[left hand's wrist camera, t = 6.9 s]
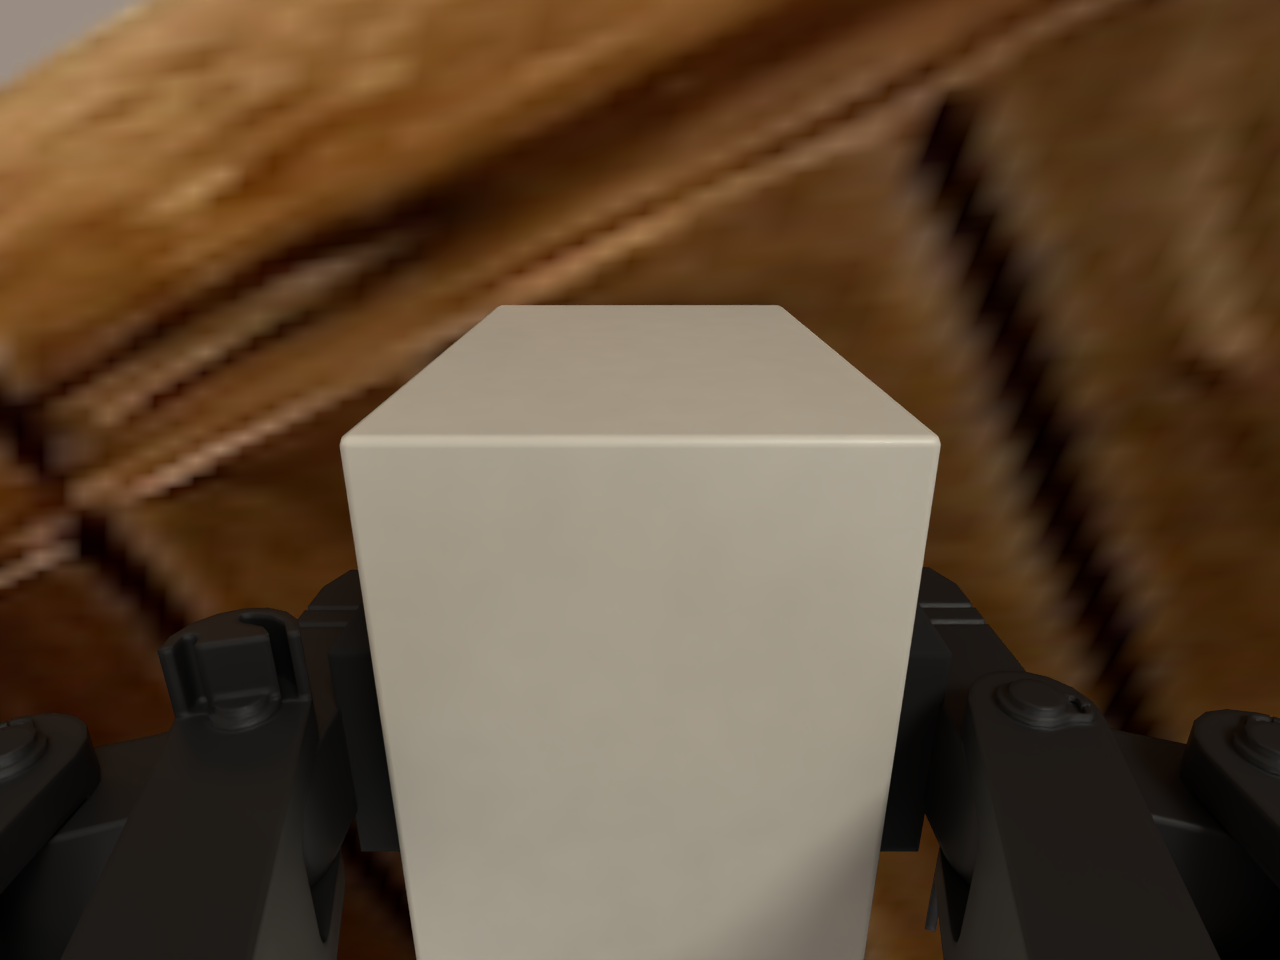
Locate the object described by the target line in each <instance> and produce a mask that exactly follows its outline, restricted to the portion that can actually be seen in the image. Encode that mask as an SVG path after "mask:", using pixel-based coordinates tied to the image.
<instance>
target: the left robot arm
mask: <svg viewBox="0 0 1280 960" xmlns="http://www.w3.org/2000/svg"><path fill="white" fill-rule="evenodd" d="M157 651H158V655H159V658H160V662H161V666H162V669H163V673H164V677H165V681H166V684H167V688H168V692H169V696H170V699H171V703H172V707H173V711H174V714H175V720H174V722H173V725H172V727H171V729H170V731H169V732H165V733H161V734H157V735H154V736H149V737H144V738H139V739H134V740H129V741H124V742H119V743H114V744H109V745H104V746H99V747H93V744H92V741H91V738H90V734H89V731H88V728H87V725H86V724H85V723H84V722H82V721H81V720H80V719H79V718H77V717H76V716H74V715H67V714H59V713H47V714H39V715H31V716H23V717H18V718H14V719H11V721H7V720H6V721H3V722H0V960H336V959H337V951H338V943H339V934H340V926H341V917H342V909H343V901H344V892H345V884H346V877H345V870H344V864H343V858H342V853H341V848H340V847H341V845H342V843H343V841H344V839H345V836H346V834H347V832H348V830H349V828H350V825H351V823H352V821H353V819H354V817H356V823H357V829H358V835H359V840H360V846H361V851H400V845H399V838H398V832H397V825H396V818H395V812H394V805H393V798H392V792H391V785H390V778H389V772H388V765H387V758H386V752H385V745H384V738H383V731H382V725H381V718H380V711H379V705H378V698H377V691H376V685H375V678H374V671H373V665H372V658H371V651H370V645H369V638H368V631H367V625H366V618H365V611H364V605H363V598H362V591H361V584H360V578H359V571H358V570H350V571H348V572H347V573H345V574H343V575H342V576H340V577H339V578H337V579H335V580H334V581H332V582H331V583H329V584H327V585H326V586H324V587H323V588H322V589H321V591H320V592H319V593H318V595H317V596H316V597H315V598H314V600H313V601H312V602H311V603H310V605H309V606H308V610H305V611H304V612H303V613H302V615H301V616H300V617H299V618H298V620H297V619H296V618H294V617H293V616H292V615H291V614H289V613H288V612H285V611H281V610H276V609H271V608H245V609H239V610H234V611H229V612H225V613H220V614H216V615H213V616H211V617H208V618H205V619H203V620H200V621H197V622H194V623H192V624H190V625H189V626H187V627H185V628H183V629H182V630H180V631H178V632H177V633H175V634H173V635H172V636H170V637H169V638H168V640H167V641H166V642H165V643H164V644H163V645H162V646H161V647H160V648H159V649H158V650H157ZM925 814H926V816H927V818H928V820H929V823H930V825H931V827H932V829H933V831H934V834H935V836H936V838H937V840H938V842H939V845H940V848H939V853H938V858H937V864H936V869H935V874H934V880H933V885H932V890H931V896H930V901H929V906H928V912H927V918H926V925H925V929H927V930H932V931H935V930H936V925H937V920H938V916H939V924H940V932H941V941H942V949H943V958H944V960H1280V719H1279V718H1276V717H1273V718H1272V717H1269V715H1265V714H1261V713H1256V712H1246V711H1238V710H1230V709H1225V710H1217V711H1210V712H1205V713H1204V714H1203V715H1201V716H1200V717H1199V718H1197V719H1196V720H1195V721H1194V723H1193V726H1192V729H1191V732H1190V736H1189V739H1188V742H1187V744H1183V743H1178V742H1173V741H1168V740H1163V739H1158V738H1153V737H1148V736H1143V735H1138V734H1133V733H1128V732H1124V731H1120V730H1116V729H1112V728H1110V727H1109V725H1108V723H1107V721H1106V719H1105V717H1104V716H1103V715H1102V713H1101V712H1100V711H1099V709H1098V708H1097V707H1096V706H1095V704H1094V703H1093V702H1092V701H1091V700H1089V699H1088V698H1086V697H1085V696H1084V695H1082V694H1081V693H1079V692H1078V691H1076V690H1075V689H1074V688H1072V687H1070V686H1067V685H1065V684H1063V683H1060V682H1058V681H1056V680H1054V679H1051V678H1049V677H1045V676H1041V675H1037V674H1033V673H1028V672H1026V671H1025V670H1024V668H1023V667H1022V666H1021V665H1020V663H1019V662H1018V661H1017V660H1016V658H1015V657H1014V656H1013V655H1012V653H1011V652H1010V651H1009V650H1008V648H1007V647H1006V646H1005V645H1004V643H1003V642H1002V641H1001V640H1000V638H999V637H998V636H997V635H996V633H995V632H994V631H993V630H992V628H991V627H990V626H989V625H988V624H985V620H984V618H983V617H982V616H981V615H980V613H979V612H978V611H977V610H976V608H972V603H971V602H970V601H969V600H968V598H967V597H966V596H965V595H964V593H963V592H962V591H961V590H960V588H959V587H958V586H957V585H956V584H955V583H953V582H952V581H950V580H949V579H947V578H945V577H944V576H942V575H940V574H939V573H937V572H936V571H934V570H932V569H931V568H929V567H922V573H921V580H920V586H919V593H918V600H917V606H916V613H915V620H914V626H913V633H912V640H911V647H910V653H909V660H908V667H907V673H906V680H905V687H904V693H903V700H902V707H901V713H900V720H899V727H898V733H897V740H896V747H895V753H894V760H893V767H892V773H891V780H890V787H889V793H888V800H887V807H886V813H885V820H884V827H883V833H882V840H881V847H880V851H918V849H919V843H920V838H921V832H922V826H923V820H924V815H925Z"/></svg>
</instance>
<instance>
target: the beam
mask: <svg viewBox="0 0 1280 960" xmlns="http://www.w3.org/2000/svg"><path fill="white" fill-rule="evenodd" d="M940 446H941V444H940V441H939V437H938V436H937V435H936V434H935V433H933V432H932V431H931V430H930V429H928V428H927V427H926V426H925V425H924V424H922V423H921V422H920V421H919V420H918V419H916V418H915V417H914V416H913V415H912V414H910V413H909V412H908V411H907V410H905V409H904V408H903V407H902V406H901V405H899V404H898V403H897V402H896V401H895V400H893V399H892V398H891V397H890V396H889V395H887V394H886V393H885V392H884V391H883V390H881V389H880V388H879V387H878V386H876V385H875V384H874V383H873V382H872V381H870V380H869V379H868V378H867V377H866V376H864V375H863V374H862V373H861V372H860V371H858V370H857V369H856V368H855V367H853V366H852V365H851V364H850V363H849V362H847V361H846V360H845V359H844V358H843V357H841V356H840V355H839V354H838V353H837V352H835V351H834V350H833V349H832V348H831V347H829V346H828V345H827V344H826V343H824V342H823V341H822V340H821V339H820V338H818V337H817V336H816V335H815V334H814V333H812V332H811V331H810V330H809V329H808V328H806V327H805V326H804V325H803V324H801V323H800V322H799V321H798V320H797V319H795V318H794V317H793V316H792V315H791V314H789V313H788V312H787V311H786V310H785V309H783V308H782V307H780V306H778V305H501V306H499V307H497V308H496V309H495V310H493V311H492V312H491V313H490V314H489V315H487V316H486V317H485V318H484V319H483V320H481V321H480V322H479V323H478V324H477V325H475V326H474V327H473V328H472V329H471V330H469V331H468V332H467V333H466V334H465V335H463V336H462V337H461V338H460V339H459V340H457V341H456V342H455V343H454V344H453V345H451V346H450V347H449V348H448V349H447V350H446V351H444V352H443V353H442V354H441V355H440V356H438V357H437V358H436V359H435V360H434V361H432V362H431V363H430V364H429V365H428V366H426V367H425V368H424V369H423V370H422V371H420V372H419V373H418V374H417V375H416V376H414V377H413V378H412V379H411V380H410V381H408V382H407V383H406V384H405V385H404V386H402V387H401V388H400V389H399V390H398V391H396V392H395V393H394V394H393V395H392V396H390V397H389V398H388V399H387V400H386V401H384V402H383V403H382V404H381V405H380V406H378V407H377V408H376V409H375V410H374V411H372V412H371V413H370V414H369V415H368V416H366V417H365V418H364V419H363V420H362V421H360V422H359V423H358V424H357V425H356V426H354V427H353V428H352V429H351V430H350V431H348V432H347V433H346V434H345V435H344V436H342V438H341V442H340V451H341V458H342V464H343V471H344V478H345V484H346V491H347V498H348V504H349V511H350V518H351V524H352V531H353V538H354V544H355V551H356V558H357V564H358V571H359V578H360V584H361V591H362V598H363V605H364V611H365V618H366V625H367V631H368V638H369V645H370V651H371V658H372V665H373V671H374V678H375V685H376V691H377V698H378V705H379V711H380V718H381V725H382V731H383V738H384V745H385V752H386V758H387V765H388V772H389V778H390V785H391V792H392V798H393V805H394V812H395V818H396V825H397V832H398V838H399V845H400V852H401V858H402V865H403V872H404V878H405V885H406V892H407V899H408V905H409V912H410V919H411V925H412V932H413V939H414V945H415V952H416V959H417V960H864V954H865V947H866V940H867V934H868V927H869V920H870V914H871V907H872V900H873V894H874V887H875V880H876V874H877V867H878V860H879V853H880V847H881V840H882V833H883V827H884V820H885V813H886V807H887V800H888V793H889V787H890V780H891V773H892V767H893V760H894V753H895V747H896V740H897V733H898V727H899V720H900V713H901V707H902V700H903V693H904V687H905V680H906V673H907V667H908V660H909V653H910V647H911V640H912V633H913V626H914V620H915V613H916V606H917V600H918V593H919V586H920V580H921V573H922V566H923V560H924V553H925V546H926V540H927V533H928V526H929V520H930V513H931V506H932V500H933V493H934V486H935V480H936V473H937V466H938V460H939V453H940Z"/></svg>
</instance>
